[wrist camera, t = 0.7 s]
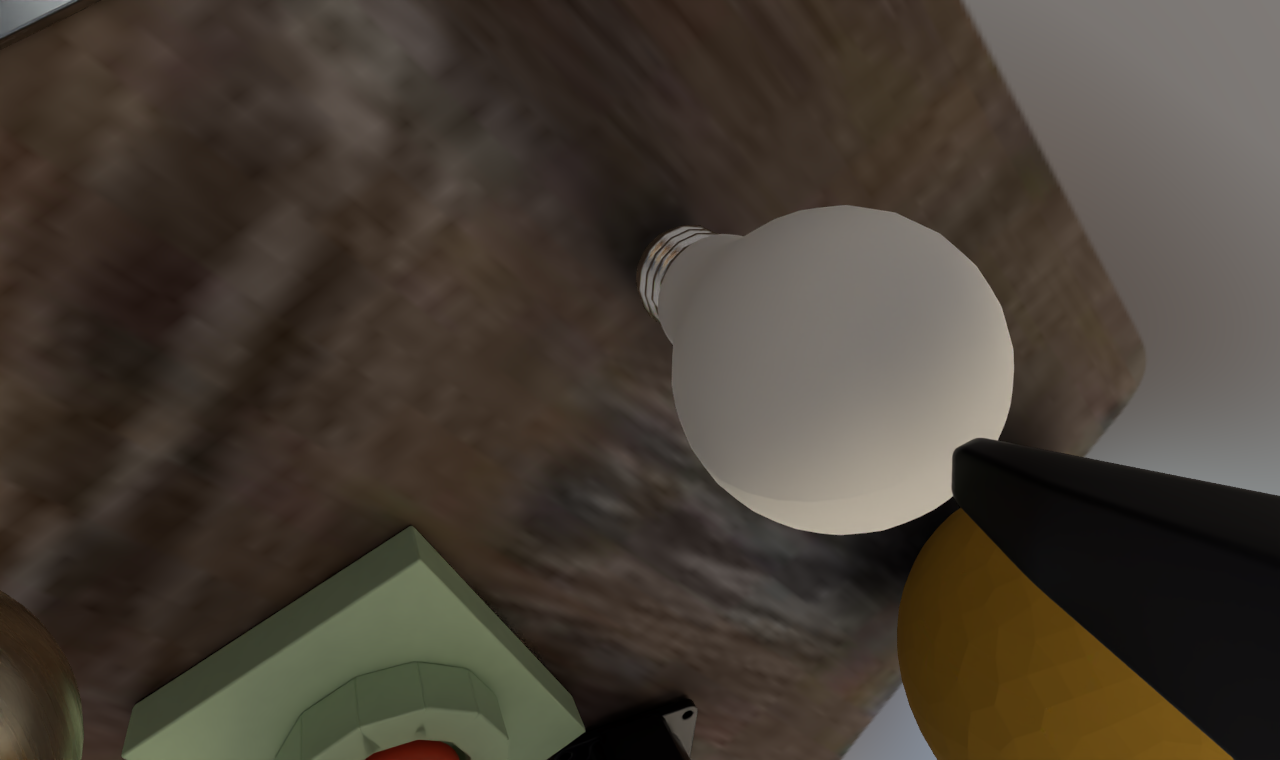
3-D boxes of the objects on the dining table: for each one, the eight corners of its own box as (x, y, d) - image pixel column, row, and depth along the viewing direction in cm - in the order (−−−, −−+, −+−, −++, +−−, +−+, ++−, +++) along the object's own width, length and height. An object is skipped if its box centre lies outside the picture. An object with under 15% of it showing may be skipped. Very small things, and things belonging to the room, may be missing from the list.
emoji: (1034, 387, 35) (1027, 631, 40) (803, 487, 28) (825, 770, 33) (1525, 484, 22) (1432, 839, 26) (1312, 723, 15) (1235, 1153, 19)
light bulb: (625, 406, 22) (852, 666, 13) (516, 236, 18) (731, 438, 9) (788, 290, 23) (1108, 459, 14) (716, 102, 19) (1096, 168, 10)
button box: (572, 695, 27) (604, 774, 24) (368, 841, 25) (377, 942, 23) (411, 523, 20) (430, 603, 18) (131, 705, 19) (103, 822, 16)
